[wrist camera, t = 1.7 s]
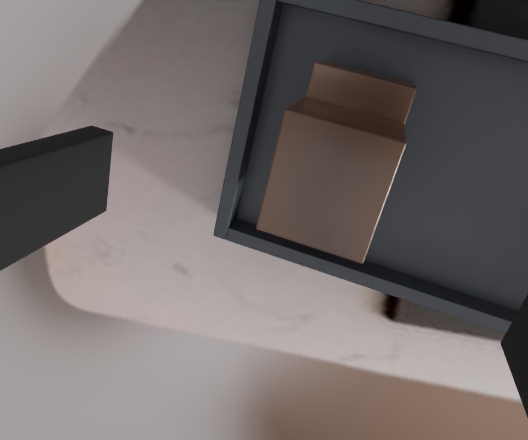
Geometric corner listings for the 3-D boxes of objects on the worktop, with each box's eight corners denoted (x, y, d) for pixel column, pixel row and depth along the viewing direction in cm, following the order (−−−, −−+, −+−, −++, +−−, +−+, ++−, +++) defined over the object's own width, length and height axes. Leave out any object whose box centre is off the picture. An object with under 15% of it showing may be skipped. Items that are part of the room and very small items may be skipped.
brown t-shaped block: (287, 202, 26) (247, 261, 19) (326, 59, 23) (294, 65, 16) (363, 226, 25) (351, 296, 18) (414, 81, 22) (423, 99, 15)
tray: (226, 221, 28) (213, 235, 26) (275, -16, 23) (264, -22, 21) (587, 340, 25) (605, 367, 23) (749, 95, 19) (791, 101, 17)
